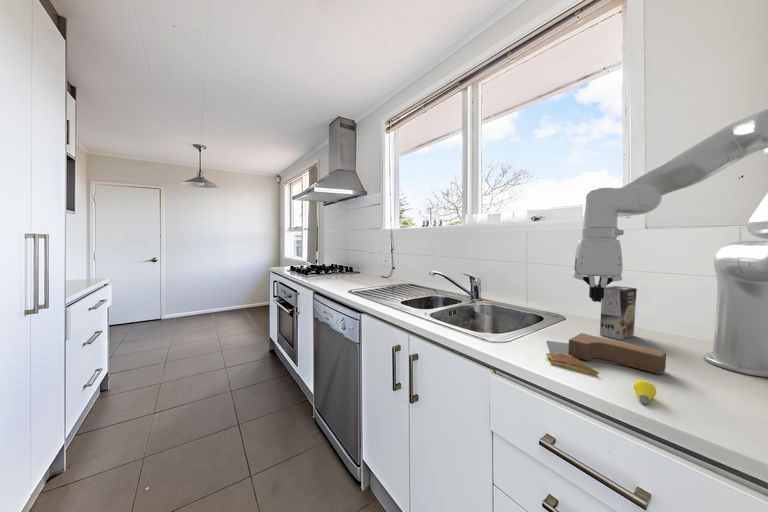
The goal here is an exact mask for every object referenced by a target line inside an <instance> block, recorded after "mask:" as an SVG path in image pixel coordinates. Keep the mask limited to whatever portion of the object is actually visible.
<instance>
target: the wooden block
mask: <svg viewBox="0 0 768 512" xmlns="http://www.w3.org/2000/svg"><path fill="white" fill-rule="evenodd" d="M568 343H569V350H568V354H569V355H572V356H573V357H577V358H580V359H579V360H583V359H584V360H585V361H590V360H589V359H592V358H594V359H603V360H608V361H612V362H616V363H620V364H623V365H622V366H625V365H627V366H626V367H632V368H635V369H637V370H641V371H645V372H649V373H653V374H657V375H662V374H664V372H665V370H666V365H667V364H666V362H667V352H665V351H662V350H657V349H653V348H649V347H644V346H640V345H639V346H638V345H634V344H631V343H630V344H629V343H627V342H621V341H617V340H612V339H610V338H604V337H601V336H595V335H592V334H587V333H579V334H577V335H576V336H573V337H572V338H570V339H568Z"/></svg>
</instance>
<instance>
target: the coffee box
mask: <svg viewBox="0 0 768 512" xmlns="http://www.w3.org/2000/svg"><path fill="white" fill-rule="evenodd" d="M637 289H638V288H637V287H629V286H628V287H627V286H617V285H613V286H606V287H605V288H604V298H603V299H601V302H600V303H601V304H600V305H601V306H600V308H601V309H600V323H599V325H600V326H599V329H600V330H599V335H600V336H604V337H606V338H611V339H615V340H619V341H623V340H625V339H628V337H629V338H631V336H632V337H633V335H634V336H635V322H636V321H635V319H636V305H637V304H636V303H637V291H638V290H637Z"/></svg>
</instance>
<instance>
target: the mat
mask: <svg viewBox="0 0 768 512" xmlns="http://www.w3.org/2000/svg"><path fill="white" fill-rule="evenodd" d="M546 344H547V348H548V350H549V353H563V354H567V355H569V354H568V350H569V342H568V343H567V342H560V341H552V340H546ZM575 358H577V357H575ZM577 359H579V360H581V359H580V358H577ZM582 360H584V359H582ZM588 361H591V362H597V363H605V364H612V365H618V366H619V365H620V366H626V367H628V366H627V365H623V364H620V363H616V362H612V361H608V360H603V359H594V358H592V359H589V360H588Z"/></svg>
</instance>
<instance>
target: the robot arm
mask: <svg viewBox="0 0 768 512" xmlns="http://www.w3.org/2000/svg"><path fill="white" fill-rule="evenodd" d="M760 151H762V154H763V156H764V158H765V160H766V161H767V162H768V108H767V109H763V110H761V111H758V112H756V113H754V114H751V115H749V116H746V117H744V118H741V119H739V120H737V121H735V122H733V123H730V124H728V125H727V126H725V127H723V128H721V129H720V130H718V131H716V132H714V133H713V134H712V135H709V136H707V137H706V138H705V139H703V140H701V141H700V142H697V144H694V145H693V146H691V147H690V148H688V149H686V150H684V151H682V152H681V153H680V154H678V155H676V156H674V157H673V158H670V159H669V160H667V161H665V162H663V163H661V164H660V165H658V166H656V167H654V168H652V169H651V170H650V171H648V172H645V173H644V174H642V175H639V176H638V177H636V178H635V179H633V180H631V181H629V182H628V183H626V184H625V185H623V186H622V187H597V188H592V189H589V190H587V191H586V192H584V195H583V209H582V210H583V211H582V212H583V213H582V232H581V233H582V238H581V239H578V240H577V244H576V251H575V257H574V274H573V278H574V279H576V280H581V281H583V282H585V283H586V284H587V285H588V286H589V289H588V290H589V293H588V298H590V300H591V301H592V302H595V303H596V302H598V303H601V302H602V299H603V298H604V288H605V287H608V285H609V284H611V283H612V282H621V281H622V280H623V276H622V273H623V254H622V246H621V245H622V244H621V241H620V239H617V238H618V237H619V236H623V235H624V234H625V233H624V230H623V229H619V227H618V219H619V218H622V217H623V218H624V217H631V216H639V215H644V214H648V213H650V212H652V211H654V210H655V209H657V208H658V207H659V206H660V204H661V203H662V202H661V201H662V198H663V197H662V196H664V195H666V194H670V193H673V192H677V191H678V190H682V189H685V188H688V187H689V188H690V187H691V186H693V185H696V184H699V183H701V182H703V181H705V180H708V179H710V177H712V176H714V175H716V174H717V173H719V172H721V171H724V170H725V169H727V168H728V167H731V166H732V165H734V164H735V163H737V162H739V161H741V160H743V159H744V158H746V157H748V156H750V155H752V154H754V153H758V152H760ZM746 228H747V231H748V233H750V235H752V236H754V237H756V238H760V239H764V240H739V241H735V242H734V241H733V242H730V243H728V244H725V245H724V246H722V247H721V248H719V250H717V252H716V253H715V254H714V258H713V266H714V272H715V276H716V282H717V283H716V285H717V290H716V291H717V294H716V306H715V307H716V308H715V318H714V321H715V322H714V334H713V346H712V347H713V348H712V349H713V350H712V351H709V352H708V351H707V352H705V353H703V359H704V360H705V361H706V362H708V363H710V364H712V365H714V366H717V367H719V368H722V369H726V370H729V371H733V372H737V373H740V374H746V375H751V376H757V377H763V378H768V191H767V192H766V194H764V196H763V197H762V200H760V202H759V204H758V205H757V207H755V209H754V211H753V213H751V215H750V217H749V218H748V220H747V223H746ZM596 277H599V279H598V282H597V284H596Z"/></svg>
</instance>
